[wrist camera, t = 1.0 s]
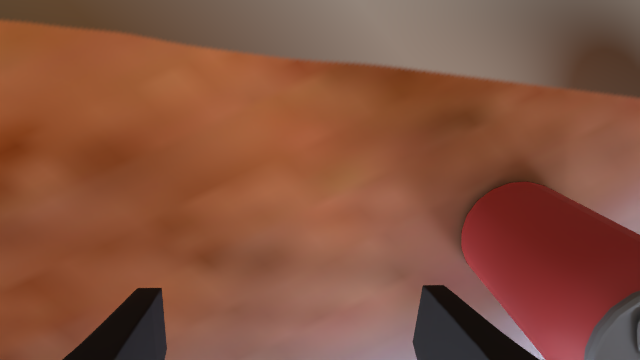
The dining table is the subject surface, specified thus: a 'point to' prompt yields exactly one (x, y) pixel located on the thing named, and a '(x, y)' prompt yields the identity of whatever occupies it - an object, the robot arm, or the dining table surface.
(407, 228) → the dining table surface
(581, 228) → the beer can
